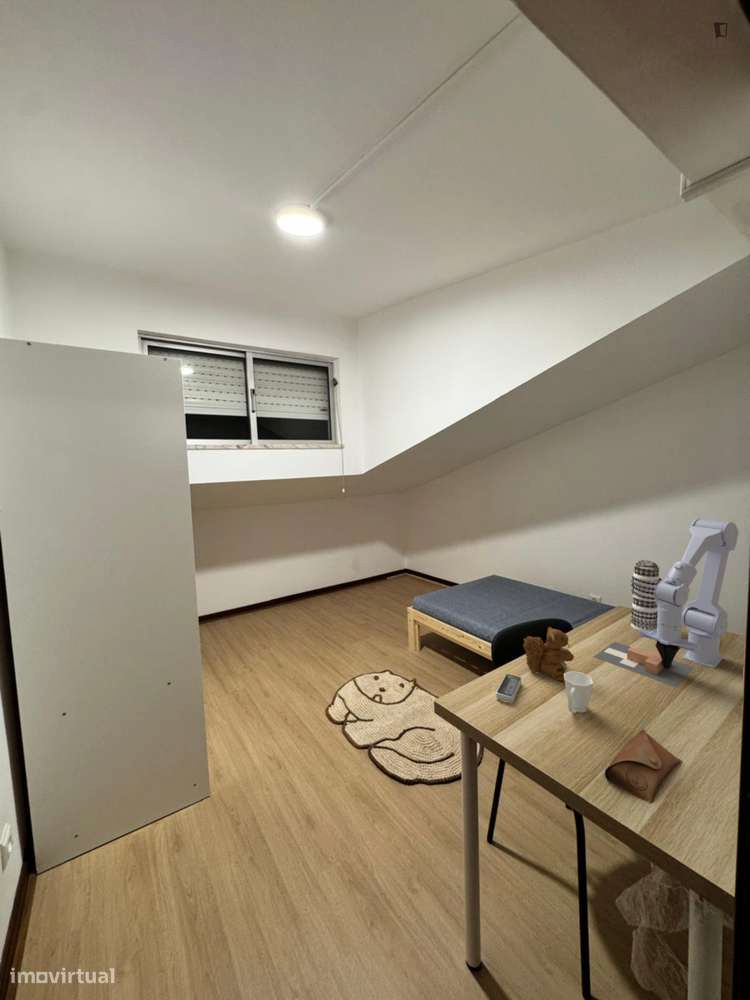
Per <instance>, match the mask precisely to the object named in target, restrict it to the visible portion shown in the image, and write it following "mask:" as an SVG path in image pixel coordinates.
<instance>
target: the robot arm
mask: <svg viewBox="0 0 750 1000" xmlns="http://www.w3.org/2000/svg"><path fill="white" fill-rule="evenodd" d="M739 533H740V532H739V529H738V526H737V525H736V524H735V522H733V521H722V520H721V521H720V520H712V519H703V518H695V519H694V520H693V521H692V522H691V524H690V526H689V536H690V541H689V543H688V544H687V547H686V549H685V552H684V554H683V556H682V558H681V560H679V561H676V562H674V563H673V565H672V567H671V568H670V570H669V572H668V573H667V575H666V577H665V578H664V580H663V581H660V583H658V584H657V585H656V587H655V590H654V592H653V594H654V597H655V599H656V605H657V606H658V617H657V631H656V632H655V631H649V630H644V629H641V630H638V633H639V634H638V636H639V637H640V638H645V639H649V640H653V641H655V642H656V643H655V644H654V645H655V648H656V651H657V650H658V652H659V654H660V656H661V659H662V662H663V667H664V668H667V669H670V668H671V665H672V661H674V659H675V658H676V655H677V654H678V653H679V650H681V649H684V650H687V652H686V653H685V654H684V655H683V656H682V659H685V660H688V661H691V662H693V663H694V662H695V663H697V664H700V665H701V664H702V665H704V666H708V667H711V668H713V669H715V668H717V666H718V665H719V664H720V663H721V661H722V660H723V659H724V658H723V656H721V655H720V642H721V641H720V640H721V639H720V638H721V637H722V636H724V635H725V634H726V633H727V631H728V627H729V626H728V615H729V614H728V612H727V611H726V610H725V609H724V608H722V606H721V605H720V604H719V600H720V595H721V590H722V586H723V581H724V577H725V573H726V569H727V564H728V558H729V555H730V551H735V550H736V546H737V542H738V539H739ZM704 555H705V560H704V564H703V569H702V573H701V577H700V582H699V588H698V592H697V596H696V599H694V600H690V601H688V599H689V593H690V586H691V584H692V583H693V580H694V579H695V578H696V576H697V574H698V571H697V567H696V566H697V564H698V563H699V562H700V561H701V559H702V558H703V557H704ZM684 605H685V607H684V610H683V606H684ZM682 624H683V625H684V626H685V629H686V630H688V635H687V639H684V638H683V637H682V627H683V626H682Z"/></svg>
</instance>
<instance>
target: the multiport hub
mask: <svg viewBox="0 0 750 1000" xmlns="http://www.w3.org/2000/svg"><path fill="white" fill-rule="evenodd" d="M520 685H521V686H522V677H521V676H517V675H513V674H510V673H506V674H505V675H504V677H503V679H502V681H501V682H500V684H499V686H498V688H497V690H496V692H495V699H496V698H498V699H501V700H503V701H507V702H510V703H513V704H514V702H513V701H515V699H516V697H517V695H518V693H519V691H520V689H519V688H521V686H520ZM518 690H519V691H518ZM517 692H518V693H517ZM516 694H517V695H516ZM515 696H516V697H515ZM514 698H515V699H514ZM503 701H502V702H503ZM510 703H509V704H510Z"/></svg>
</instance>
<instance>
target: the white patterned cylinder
mask: <svg viewBox="0 0 750 1000" xmlns="http://www.w3.org/2000/svg"><path fill="white" fill-rule="evenodd" d="M633 566H634V567H633V568H634V569H633V575H632V576H631V580H630V582H631V589H630V590H631V591H630V592H631V596H632V600H633V601H632V603H631V604H632V605H631V608H630V609H631V611H630V613H631V614H632V615H631V616H630V618H631V620H630V626H631V627H632V628H633V629H635V630H638V631H640V630H641V629H644V630H649V631H655V632H657V617H658V606H657V605H656V599H655V597H654V594H653V592H654V590H655V587H656V585H657V584H658V583H661V582H662V580H663V579H662V578H660V568H661V567H660V566H659V565H658V564H657V563H656V562H654V561H651V560H637V561H636V562H635V563H633Z"/></svg>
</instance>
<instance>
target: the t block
mask: <svg viewBox="0 0 750 1000" xmlns="http://www.w3.org/2000/svg"><path fill="white" fill-rule="evenodd" d="M627 659H628V660H631V661H634V662H637V663H640V664H643V665H645V671H647V672H650V673H653V674H656V675H657V674H658V673H659V672H660V671H661V670H662V669H663V668H664V667H663V662H662V659H661V656H660V654H659V652H658V650H657V649H656V650H655V651H654V652H653V653H651V652H648V651H644V650H643V649H638V648H636V647H633V646H630V648H629V649H628V650H627Z"/></svg>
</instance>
